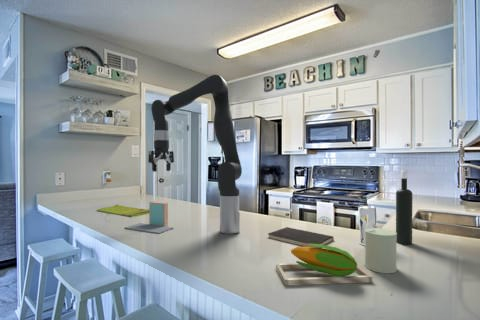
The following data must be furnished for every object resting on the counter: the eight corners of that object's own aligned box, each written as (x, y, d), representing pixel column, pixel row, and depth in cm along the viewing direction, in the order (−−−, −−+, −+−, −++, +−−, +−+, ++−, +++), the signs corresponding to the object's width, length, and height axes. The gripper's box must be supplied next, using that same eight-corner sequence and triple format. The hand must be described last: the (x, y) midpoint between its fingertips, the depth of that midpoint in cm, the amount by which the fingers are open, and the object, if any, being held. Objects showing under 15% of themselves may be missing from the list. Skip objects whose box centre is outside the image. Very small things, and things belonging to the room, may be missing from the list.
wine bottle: (393, 242, 111) (393, 170, 111) (398, 239, 115) (399, 169, 114) (409, 246, 106) (409, 170, 106) (414, 243, 110) (414, 170, 110)
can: (358, 262, 90) (358, 226, 90) (385, 261, 90) (385, 226, 90) (374, 273, 81) (374, 234, 80) (403, 273, 81) (403, 233, 81)
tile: (167, 226, 137) (167, 202, 137) (164, 227, 135) (164, 203, 135) (152, 224, 141) (152, 201, 141) (149, 225, 139) (149, 202, 139)
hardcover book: (316, 250, 102) (316, 244, 102) (267, 238, 118) (267, 233, 118) (333, 241, 114) (333, 236, 114) (287, 231, 130) (287, 226, 130)
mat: (173, 228, 132) (173, 227, 132) (159, 233, 123) (159, 232, 123) (140, 224, 141) (140, 223, 141) (124, 228, 132) (124, 227, 132)
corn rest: (351, 266, 86) (351, 261, 86) (372, 282, 75) (372, 276, 75) (275, 268, 84) (275, 263, 84) (284, 285, 73) (284, 280, 73)
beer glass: (365, 247, 105) (366, 209, 105) (353, 242, 112) (354, 206, 112) (380, 245, 107) (380, 208, 107) (367, 240, 113) (368, 205, 113)
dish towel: (132, 218, 158) (132, 212, 158) (96, 212, 176) (96, 207, 176) (152, 213, 171) (152, 208, 171) (117, 208, 189) (117, 203, 189)
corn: (354, 256, 72) (285, 240, 83) (353, 284, 72) (284, 265, 83) (359, 249, 78) (295, 235, 89) (358, 275, 78) (294, 258, 89)
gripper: (167, 140, 146) (167, 170, 146) (145, 139, 134) (145, 171, 134) (177, 140, 141) (177, 170, 141) (154, 138, 130) (154, 172, 130)
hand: (161, 171), depth 138 cm, fingers open, 8 cm apart
